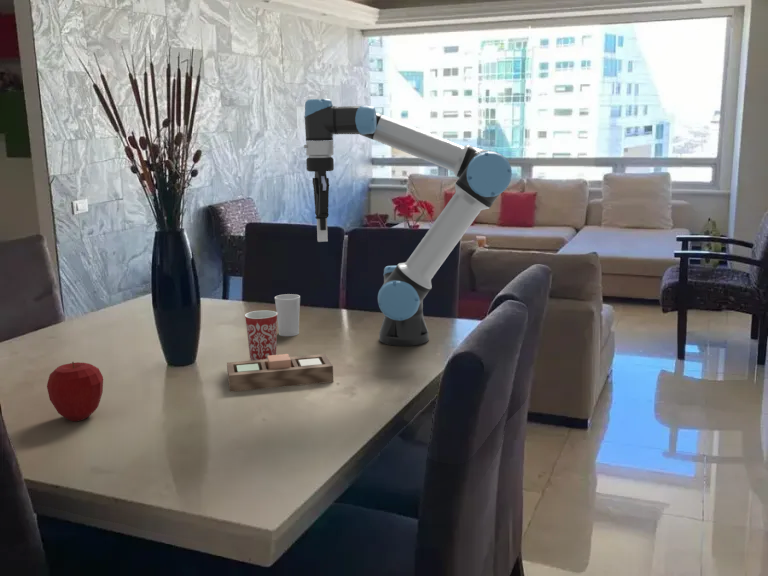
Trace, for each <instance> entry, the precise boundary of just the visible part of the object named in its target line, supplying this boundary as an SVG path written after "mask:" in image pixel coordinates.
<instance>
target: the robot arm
mask: <svg viewBox="0 0 768 576" xmlns="http://www.w3.org/2000/svg"><path fill="white" fill-rule="evenodd" d="M303 117H304V130H305V131H304V132H305V143H306V144H304V145H303V148H304V149H305V152H306V153H305V154H306V156H308V157H307V158H306V171H307V172H313V173H314V177H312V187H313V198H314V199H313V200H314V209H315V210H314V215H315V217H314V218H315V220H316V231H317V232H316V233H317V234H316V237H317V238H316V239H317V242H318V243H322V242H323V243H324V242H325V243H326V242H329V239H328V236H329V235H328V233H329V232H328V218H329V197H330V196H329V192H330V191H329V190H330V180H329V179H330V178H329V177H327V172H332V171H334V169H335V165H334V164H335V163H334V159H335V158H333V155H334V135H360V136H363V137H364V138H367V139H370V140H374V141H376V142H378V143H381V144H383V145H386V146H388V147H391V148H394V149H396V150H398V151H401V152H404V153H406V154H408V155H410V156H414V157H416V158H418V159H421V160H423V161H426V162H428V163H431V164H434V165H436V166H439V167H442V168H443V169H446V170H448V171H451V172H453V174H454V176H455V177H457V178H458V179H457V180H456V182H455V183H454V187H455V188H454V189H455V193H454V194H453V195H452V197H451V198H450V199H449V201H448V202H447V203H446V205H445V207H444V208H443V209H442V210H441V213H440V214H439V215H438V216H437V217H436V219H435V221H434V222H433V223H432V225H431V226H430V228H429V229H428V230H427V232H426V233H425V235H424V237H422V239H421V240H420V242H419V243H418V245H417V246H416V247H415V249H414V250H413V252H412V253H411V255H410V256H409V257H408V258H407V259H406V261H405V262H399V263H398V264H397V265H387V266H385V267H384V268H383V284H382V286H381V287H380V289H379V290H378V293H377V304H378V307H379V309H380V311H381V313H383V315H384V316H383V318H382V319H383V320H382V323H381V325H380V330H379V332H378V333H379V334H378V335H379V336H378V337H379V338H378V339H379V342H380V343H382V344H385V345H388V346H396V347H411V346H419V345H422V344H426V343H427V342H428V341H429V339H430V338H429V337H430V336H429V333H430V332H429V330H428V327H427V324H426V320H425V318H424V311H423V310H424V309H423V308H424V304H423V303H424V299H425V298H426V297H427V295H428V293H429V292H430V291H431V290H432V288H433V287H432V286H433V285H432V279H433V278H434V276H435V275H436V274H437V273H438V271H439V269H440V267H441V266H442V265H443V264H444V263H445V261H446V259H447V258H448V257H449V255H450V254H451V253H452V251H454V248H455V247H456V246H457V244H458V243H459V242H460V240H462V238H463V236H464V235H465V234H466V232H467V231H468V229H469V228H470V227H471V225H472V224H473V222H474V221H475V220H476V219H477V217H478V216H479V214H480V213H481V211H484V210H490V208H491V207H492V206H493V204H494V203H495V202H496V200H497V199H498V198H499V196H500V195H501V194H503V192H504V191H506V190H507V189H508V187H509V185H510V184H511V180H512V175H513V173H512V167H511V163H510V162H509V160H508V159H507V157H506V156H505V155H503V154H502V153H500V152H498V151H494V150H488V149H482V148H479V147H475V146H472V145H470V144H466V145H460V144H457V143H455V142H452V141H450V140H448V139H444V138H442V137H440V136H437V135H435V134H432V133H430V132H427V131H425V130H422V129H419V128H416V127H414V126H411V125H409V124H407V123H403V122H402V121H398V120H396V119H393V118H391V117H389V116H386V115H383V114H381V113H378V112H377V110H376V108H375V107H374V106H373V105H363V104H362V105H347V106H338V105H337V106H335V105H333V103H332V100H331V99H330V98H311V99H307V100H306V101H305V102H304V116H303Z"/></svg>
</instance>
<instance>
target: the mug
mask: <svg viewBox="0 0 768 576" xmlns="http://www.w3.org/2000/svg"><path fill="white" fill-rule="evenodd" d="M277 315H278V313H277V312H276V311H274V310H254V311H250V312H247V313H245V314H244V319H245V322H246V323H245V326H246V334H247V342H248V343H247V344H248V352H249V361H252V360H263V359H268V358H267V356H269V355H278V354H277V343H278V342H277V339H278V338H277V333H278V331H277V330H278V320H277Z"/></svg>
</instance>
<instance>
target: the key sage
mask: <svg viewBox="0 0 768 576" xmlns="http://www.w3.org/2000/svg"><path fill="white" fill-rule="evenodd" d="M257 370H259V366H258V364H247V365H237V372H246V371H257Z"/></svg>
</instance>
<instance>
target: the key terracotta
mask: <svg viewBox="0 0 768 576" xmlns="http://www.w3.org/2000/svg"><path fill="white" fill-rule="evenodd" d="M290 357H291V356H290V355H289V353H284V354H276V355H269V356H267V358H268V369H279V368H290V367H291V359H290Z"/></svg>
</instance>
